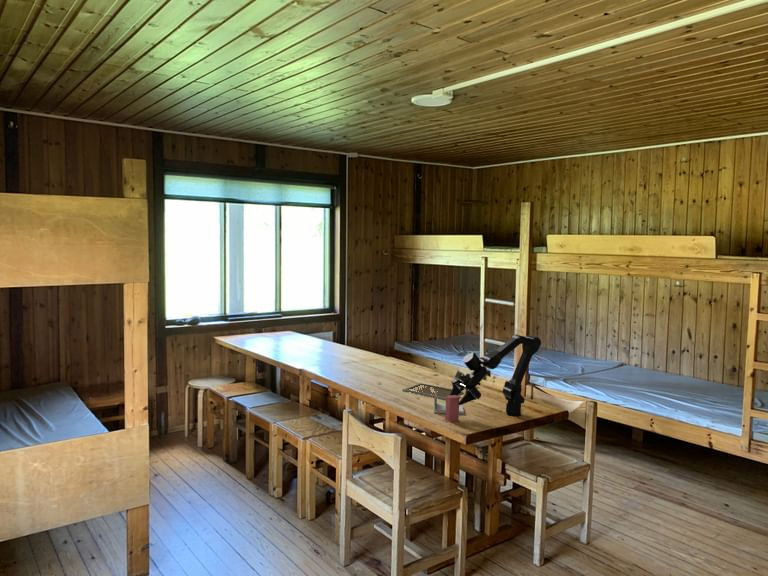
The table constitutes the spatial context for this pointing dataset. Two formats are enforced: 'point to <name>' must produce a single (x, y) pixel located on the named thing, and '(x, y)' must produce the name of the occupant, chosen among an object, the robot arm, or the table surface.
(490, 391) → the table surface
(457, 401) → the tall pink rectangular prism
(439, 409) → the shelf
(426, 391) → the gray perforated panel
